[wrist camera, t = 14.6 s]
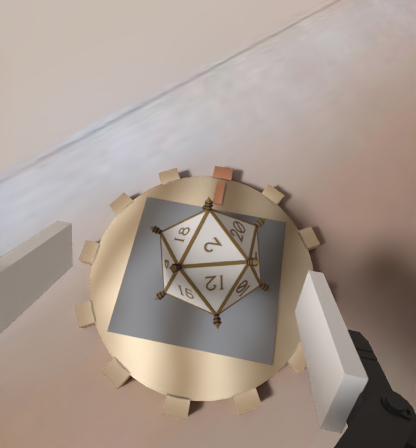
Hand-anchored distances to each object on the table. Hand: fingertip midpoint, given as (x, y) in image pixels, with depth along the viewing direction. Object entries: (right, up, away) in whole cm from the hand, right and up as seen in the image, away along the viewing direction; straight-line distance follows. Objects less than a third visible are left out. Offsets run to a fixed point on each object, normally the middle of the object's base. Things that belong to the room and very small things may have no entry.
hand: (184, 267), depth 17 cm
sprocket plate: (+1, -2, +10) cm, 11 cm away
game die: (+1, -2, +9) cm, 9 cm away
